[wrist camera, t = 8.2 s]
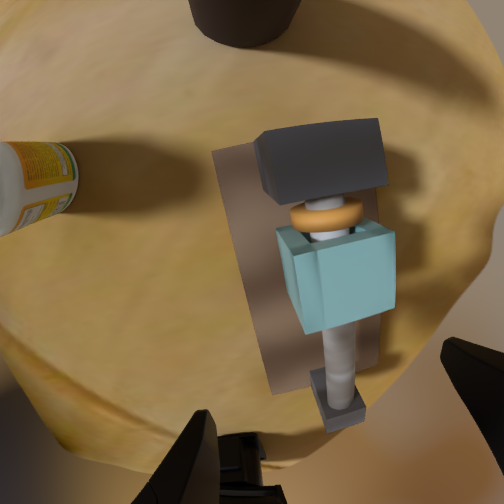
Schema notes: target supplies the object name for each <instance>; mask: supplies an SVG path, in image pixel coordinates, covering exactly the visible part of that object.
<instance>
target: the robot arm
mask: <svg viewBox="0 0 504 504" xmlns="http://www.w3.org/2000/svg"><path fill="white" fill-rule="evenodd" d="M440 359H441V362H442V364H443V366H444V368H445V370H446V372H447V374H448V376H449V378H450V379H451V382H452V383H453V386H454V387H455V389H456V391H457V392H458V394H459V396H460V397H461V399H462V401H463V402H464V404H465V405H466V407H467V409H468V410H469V412H470V414H471V415H472V417H473V419H474V420H475V422H476V424H477V425H478V427H479V429H480V431H481V433H482V434H483V436H484V438H485V440H486V442H487V443H488V445H489V447H490V449H491V451H492V453H493V455H494V457H495V458H496V461H497V463H498V465H499V467H500V469H501V471H502V473H503V475H504V353H502V352H499V351H496V350H493V349H490V348H487V347H484V346H480V345H477V344H474V343H471V342H468V341H465V340H462V339H459V338H455V337H450V338H448V339H446V340H445V341H444V342H443V346H442V350H441V355H440ZM265 459H266V454H265V452H264V450H263V447H262V445H261V443H260V440H259V438H258V435H257V434H256V433H248V434H241V435H234V436H226V437H217V430H216V424H215V422H214V420H213V418H212V416H211V414H210V412H209V411H208V410H207V409H204V410H197V411H196V412H195V413H194V414H193V416H192V417H191V419H190V420H189V422H188V424H187V425H186V427H185V428H184V430H183V431H182V433H181V434H180V436H179V437H178V439H177V440H176V442H175V443H174V445H173V446H172V448H171V449H170V450H169V452H168V453H167V455H166V456H165V458H164V459H163V461H162V462H161V464H160V465H159V466H158V468H157V469H156V471H155V472H154V474H153V475H152V477H151V478H150V479H149V482H147V483H146V485H145V486H144V488H143V489H142V490H141V492H140V493H139V494H138V495H137V497H136V498H135V499H134V501H133V502H132V503H131V504H287V501H286V499H285V496H284V493H283V490H282V487H281V485H275V486H263V480H262V471H261V463H260V461H261V460H265Z"/></svg>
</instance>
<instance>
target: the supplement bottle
mask: <svg viewBox="0 0 504 504" xmlns="http://www.w3.org/2000/svg"><path fill="white" fill-rule="evenodd" d="M78 177H79V175H78V168H77V164H76V161H75V158H74V156H73V154H72V153H71V151H70V150H69V149H68V148H67V147H66V146H64V145H62V144H60V143H52V142H0V237H1V236H4V235H7V234H9V233H11V232H14V231H16V230H18V229H21V228H23V227H25V226H28V225H30V224H32V223H35V222H37V221H40V220H42V219H45V218H48V217H50V216H53V215H55V214H58V213H60V212H62V211H63V210H64V209H66V208H67V207H68V206H69V204H70V203H71V202H72V200H73V198H74V196H75V194H76V191H77V187H78Z"/></svg>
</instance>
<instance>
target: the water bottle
mask: <svg viewBox="0 0 504 504" xmlns="http://www.w3.org/2000/svg"><path fill="white" fill-rule="evenodd" d="M188 1H189V5H190V8H191V12H192V15H193V19H194V22H195V25H196V26H197V27H198V28H199V29H200V31H201V32H202V33H203V34H204V35H205V36H207V37H209V38H211V39H212V40H214V41H216V42H218V43H222V44H225V45H229V46H238V47H250V46H256V45H261V44H265V43H267V42H269V41H271V40H273V39H276V38H278V37H279V36H280V35H281V34H282V33H283V32H284V31H285V30H286V29H288V27H289V24H290V22H291V20H292V18H293V16H294V14H295V12H296V10H297V8H298V6H299V4H300V2H301V0H188Z"/></svg>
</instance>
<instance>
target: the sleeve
mask: <svg viewBox="0 0 504 504" xmlns="http://www.w3.org/2000/svg"><path fill="white" fill-rule="evenodd" d="M275 229H276V234H277V239H278V245H279V250H280V255H281V261H282V266H283V271H284V277H285V282H286V288H287V292H288V294H289V296H290V299H291V301H292V304H293V306H294V308H295V311H296V313H297V316H298V318H299V320H300V323H301V325H302V328H303V330H304V332H305V335H307V334H311V333H315V332H318V331H322V330H326V329H329V328H333V327H336V326H340V325H343V324H346V323H350V322H353V321H356V320H360V319H363V318H366V317H369V316H372V315H375V314H378V313H381V312H384V311H387V310H390V309H393V308H395V291H396V246H395V232H394V231H392V230H390V229H388V228H386V227H384V226H382V225H380V224H378V223H376V222H374V221H372V220H370V219H368V218H365V217H364V220H363V221H362V222H361V223H359V224H357V225H355V226H352V227H349V232H350V235H346V236H341V237H337V238H333V239H328V240H324V241H320V242H315V243H311V237H310V233H308V232H301V231H297V230H295V229H293V227H292V225H288V226H283V227H278V228H275Z"/></svg>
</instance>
